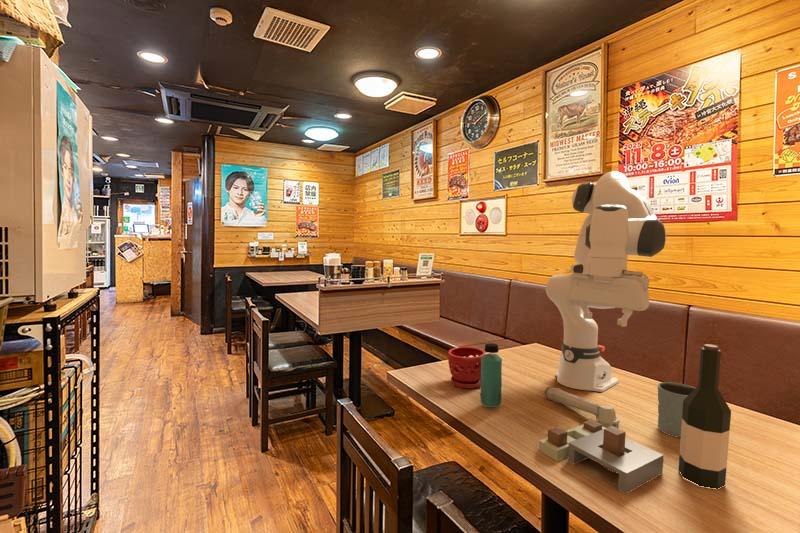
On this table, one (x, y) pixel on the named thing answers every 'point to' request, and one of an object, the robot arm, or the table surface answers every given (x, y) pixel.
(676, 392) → the grey cup
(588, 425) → the pin short
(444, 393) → the table surface
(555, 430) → the pin medium
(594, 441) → the hole bridge
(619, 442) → the pin long
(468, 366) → the plant pot
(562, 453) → the peg rack
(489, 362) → the beverage bottle
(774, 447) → the table surface
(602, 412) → the beige long piece
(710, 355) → the wine bottle
